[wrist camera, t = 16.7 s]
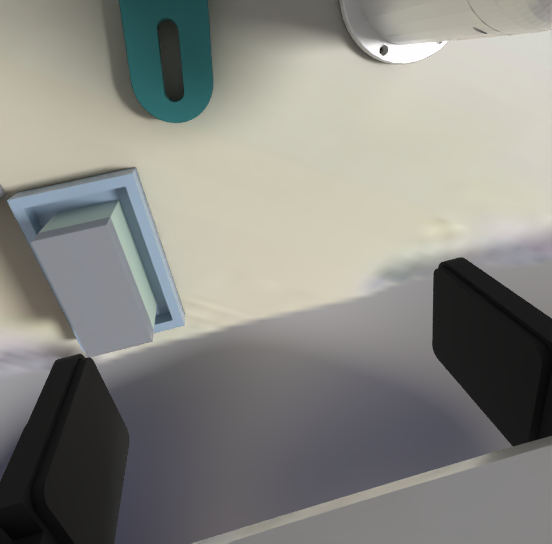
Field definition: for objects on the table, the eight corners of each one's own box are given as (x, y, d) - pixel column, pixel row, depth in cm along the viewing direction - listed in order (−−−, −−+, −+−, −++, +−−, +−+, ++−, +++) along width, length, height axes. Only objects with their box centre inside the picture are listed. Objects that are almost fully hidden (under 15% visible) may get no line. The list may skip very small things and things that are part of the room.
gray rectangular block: (118, 200, 39) (106, 224, 33) (157, 303, 45) (152, 341, 39) (55, 213, 39) (30, 242, 32) (101, 317, 44) (88, 357, 38)
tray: (135, 167, 39) (132, 173, 37) (184, 313, 47) (184, 325, 45) (17, 192, 38) (6, 200, 36) (87, 337, 46) (83, 351, 44)
